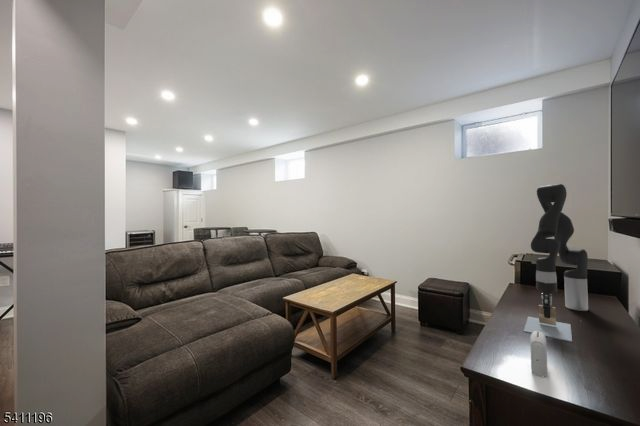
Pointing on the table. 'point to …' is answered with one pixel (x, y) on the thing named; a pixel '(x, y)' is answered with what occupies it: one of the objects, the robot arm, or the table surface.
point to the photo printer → (538, 353)
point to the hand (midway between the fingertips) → (547, 316)
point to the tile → (547, 320)
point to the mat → (549, 329)
